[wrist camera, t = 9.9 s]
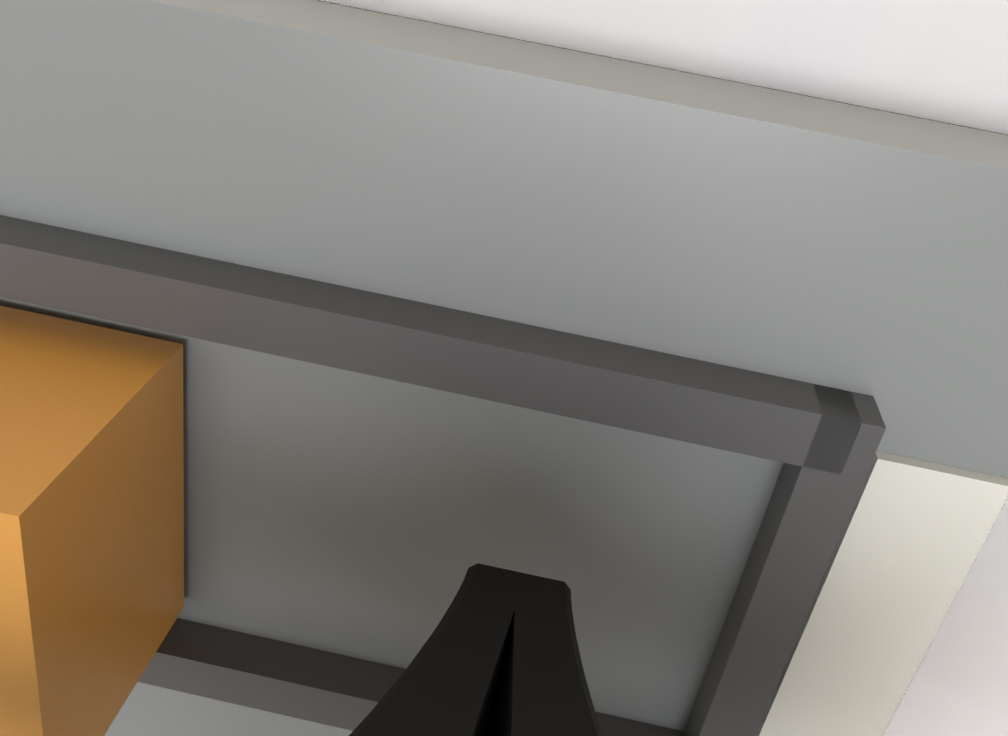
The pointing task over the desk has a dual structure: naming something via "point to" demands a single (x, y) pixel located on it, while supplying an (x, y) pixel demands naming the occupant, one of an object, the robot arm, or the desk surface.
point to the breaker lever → (85, 518)
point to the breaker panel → (521, 354)
